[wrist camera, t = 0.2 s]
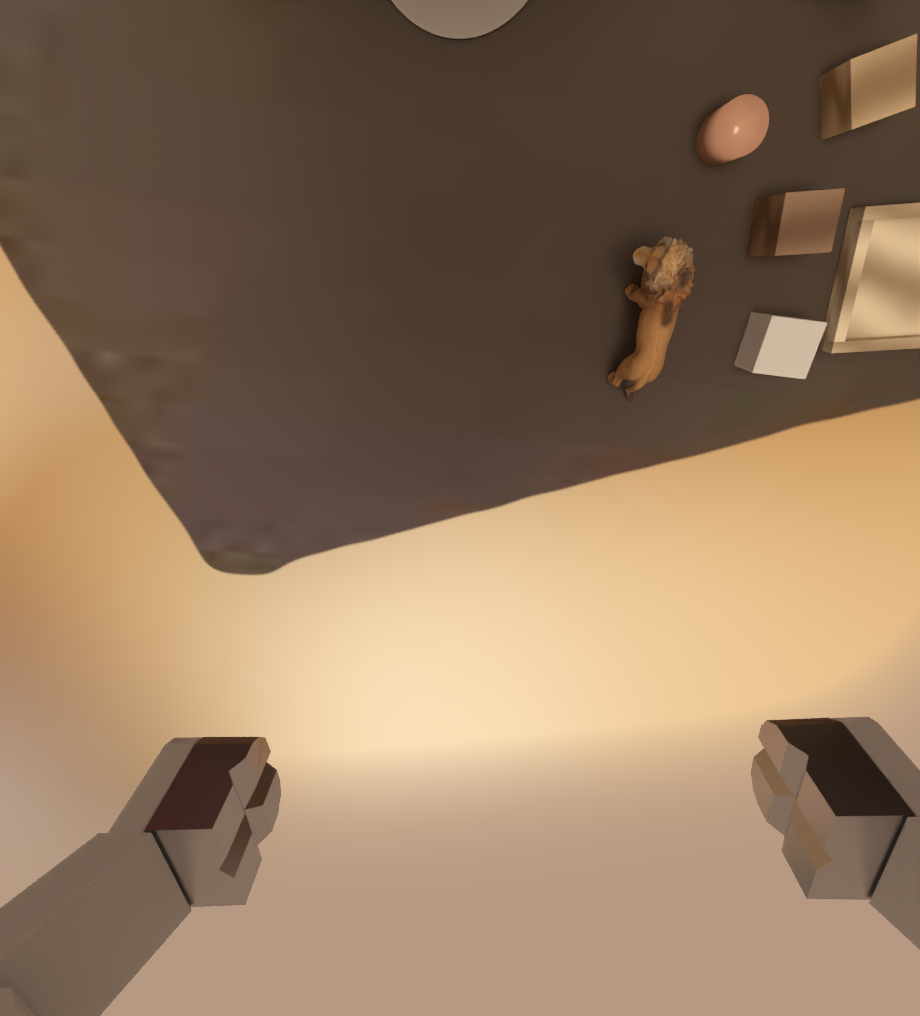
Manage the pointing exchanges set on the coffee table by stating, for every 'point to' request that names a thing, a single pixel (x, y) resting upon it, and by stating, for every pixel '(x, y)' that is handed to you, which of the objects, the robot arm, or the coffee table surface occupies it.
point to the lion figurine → (655, 309)
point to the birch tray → (876, 282)
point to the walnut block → (795, 223)
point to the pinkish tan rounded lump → (732, 130)
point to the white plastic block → (779, 345)
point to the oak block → (869, 87)
